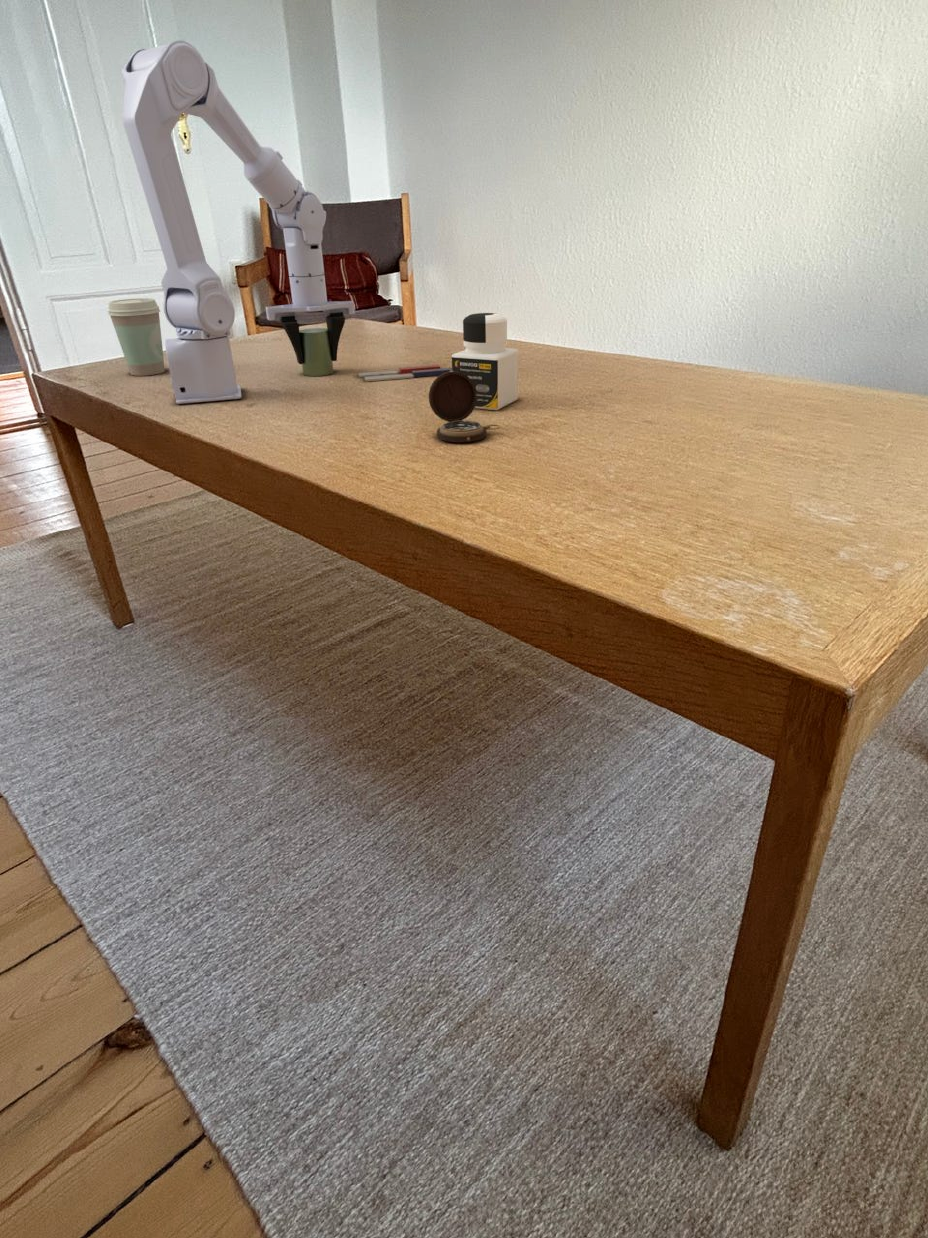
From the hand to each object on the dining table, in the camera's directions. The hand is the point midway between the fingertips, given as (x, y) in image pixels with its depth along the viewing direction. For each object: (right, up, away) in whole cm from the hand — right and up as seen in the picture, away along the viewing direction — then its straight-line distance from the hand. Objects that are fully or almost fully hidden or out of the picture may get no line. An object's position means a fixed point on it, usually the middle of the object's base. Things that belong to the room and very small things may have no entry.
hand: (317, 361), depth 130 cm
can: (0, -2, +1) cm, 2 cm away
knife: (+16, -4, -4) cm, 17 cm away
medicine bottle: (+29, -14, -21) cm, 38 cm away
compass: (+26, -22, -36) cm, 49 cm away
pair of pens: (+15, -2, -1) cm, 15 cm away
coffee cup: (-32, 0, +6) cm, 32 cm away
